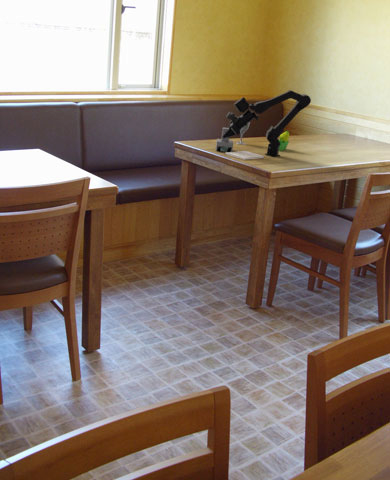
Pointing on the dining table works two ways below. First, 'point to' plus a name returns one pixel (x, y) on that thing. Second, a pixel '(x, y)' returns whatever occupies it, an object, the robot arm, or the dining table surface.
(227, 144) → the cover
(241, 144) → the wine glass
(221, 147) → the block
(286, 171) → the dining table surface
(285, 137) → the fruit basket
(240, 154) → the board
